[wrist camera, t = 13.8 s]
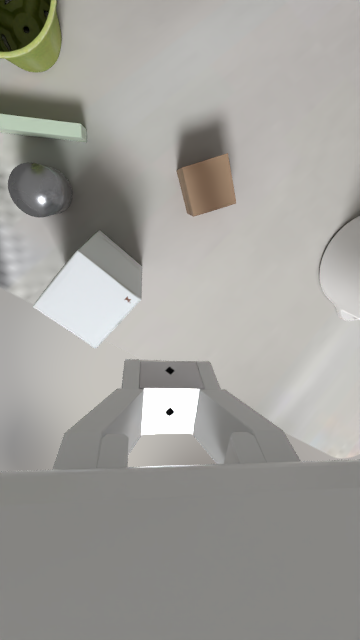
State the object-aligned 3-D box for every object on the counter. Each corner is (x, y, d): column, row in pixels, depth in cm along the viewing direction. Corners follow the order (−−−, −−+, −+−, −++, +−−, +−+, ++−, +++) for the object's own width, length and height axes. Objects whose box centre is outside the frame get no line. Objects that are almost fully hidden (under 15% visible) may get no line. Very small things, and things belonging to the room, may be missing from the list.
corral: (74, -98, 23) (66, -136, 21) (86, 142, 31) (81, 137, 28) (-88, -137, 21) (-121, -184, 19) (-34, 128, 29) (-52, 122, 26)
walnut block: (216, 158, 33) (227, 153, 28) (224, 201, 35) (236, 203, 31) (176, 170, 33) (182, 167, 28) (187, 213, 35) (193, 216, 31)
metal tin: (70, 168, 32) (58, 165, 27) (74, 215, 34) (63, 218, 29) (23, 164, 31) (3, 160, 26) (30, 211, 33) (12, 215, 28)
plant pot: (38, -65, 24) (-13, -188, 16) (99, 64, 28) (82, 16, 20) (-50, -6, 25) (-138, -95, 17) (22, 111, 29) (-23, 82, 21)
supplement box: (99, 227, 35) (78, 246, 23) (143, 267, 37) (144, 300, 26) (64, 270, 36) (29, 306, 25) (109, 304, 39) (96, 351, 28)
